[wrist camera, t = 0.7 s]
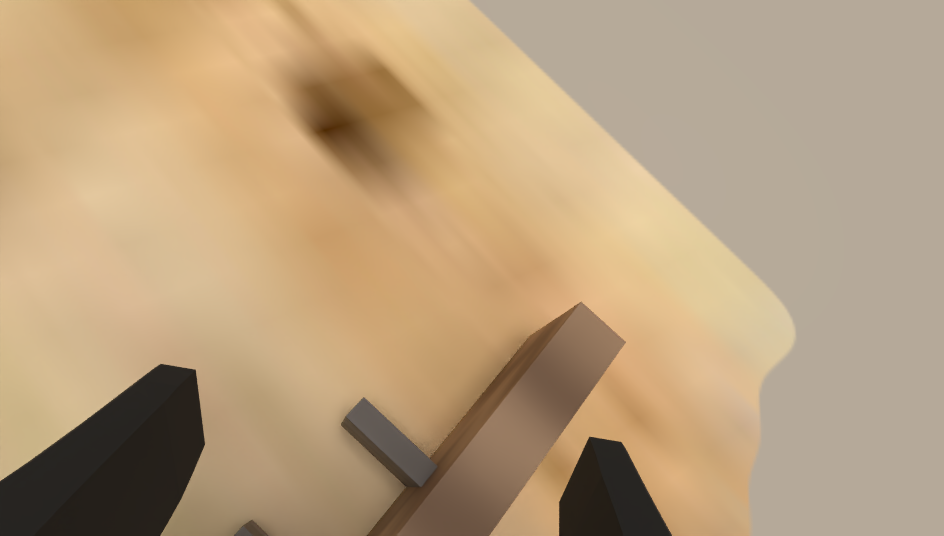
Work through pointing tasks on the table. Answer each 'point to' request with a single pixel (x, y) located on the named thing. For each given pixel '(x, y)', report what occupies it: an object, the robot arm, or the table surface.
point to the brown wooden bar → (488, 434)
